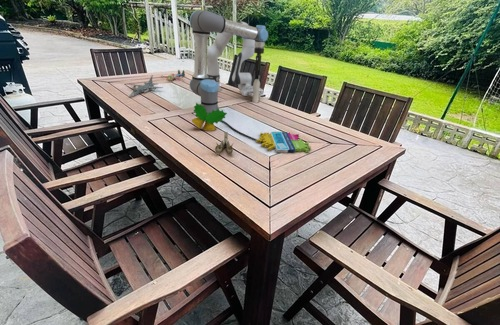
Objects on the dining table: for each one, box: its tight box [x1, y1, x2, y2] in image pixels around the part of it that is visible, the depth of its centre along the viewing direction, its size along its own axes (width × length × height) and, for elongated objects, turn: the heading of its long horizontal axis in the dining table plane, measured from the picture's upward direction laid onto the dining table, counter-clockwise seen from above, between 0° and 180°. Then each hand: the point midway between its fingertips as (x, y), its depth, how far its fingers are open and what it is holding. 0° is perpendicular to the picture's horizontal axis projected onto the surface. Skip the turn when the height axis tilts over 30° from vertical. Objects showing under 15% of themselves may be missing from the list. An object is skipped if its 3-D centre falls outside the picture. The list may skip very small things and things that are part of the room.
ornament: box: [191, 102, 228, 132], centre depth 162 cm, size 21×8×15 cm, turn 105°
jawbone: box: [214, 131, 234, 156], centre depth 136 cm, size 9×15×10 cm
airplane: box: [127, 74, 164, 98], centre depth 226 cm, size 38×31×10 cm
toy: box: [160, 69, 186, 82], centre depth 279 cm, size 28×7×30 cm
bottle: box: [251, 78, 261, 103], centre depth 219 cm, size 6×6×21 cm
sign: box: [255, 131, 312, 154], centre depth 152 cm, size 26×2×30 cm
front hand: (257, 78), depth 214 cm, fingers closed on cap, 4 cm apart
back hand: (256, 94), depth 220 cm, fingers closed on bottle, 5 cm apart
